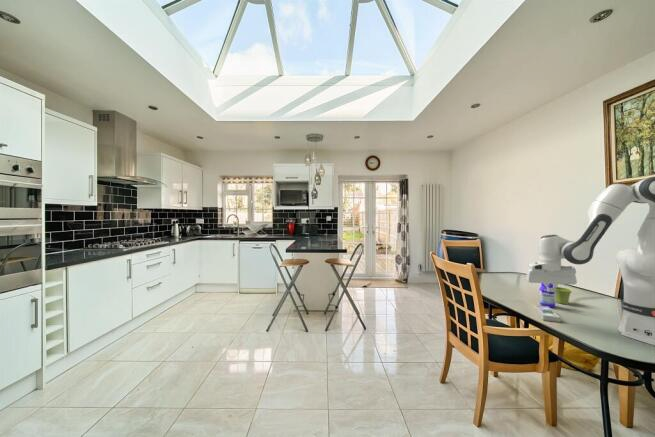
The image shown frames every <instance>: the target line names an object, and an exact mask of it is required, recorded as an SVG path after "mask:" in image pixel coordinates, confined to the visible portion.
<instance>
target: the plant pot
mask: <svg viewBox="0 0 655 437" xmlns="http://www.w3.org/2000/svg"><path fill="white" fill-rule="evenodd" d="M572 292H573V290H572V289H571V288H568V287H567V288H566V287H561V286H558V287H557V288H556V289H555V304H556V303H557V304H561V305H568V304H569V301H570V295H571V293H572Z"/></svg>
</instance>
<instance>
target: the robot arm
mask: <svg viewBox="0 0 655 437" xmlns="http://www.w3.org/2000/svg"><path fill="white" fill-rule="evenodd" d="M632 203H637V204H648V206H649V210H648V212H647V214H646V216H645V218H644V220H643V222H642V223H641V226H640V228H639V230H638V232H637V234H636V235H637V237H638V240H637V242H638V243H637V247H636V248H634V247H632V248H631V247H630V248H624V249H621V250H619V251H618V252H617V253H616V255H615V261H616V262H617V264H618V266H619V267H618V268H619V269H620V275H621V278H622V282H623V300H622V303H621V304H622V306H621V307H622V317H621V321H620V324H619V327H618V328H617V330H618V331H619V332H620V333H621V335H622V336H624V337H627V338H631V339H632V340H637V341H640V342H643V343H646V344H649V345H652V346H654V347H655V176H651V177H647V178H644V179H641V180H639V181H637V182H635V183H633V184H630V185H626V184H622V183H613V184H610V185H608V186H607V187H606V188H605V189H603V191H601V192H600V193H599V194H598V195H597V196H596V198H595V199H593V201H592V203H591V204H590V206H589V208H588V209H587V211H586V216H587V218H588V224H587V227H586V228H585V230H584V231H583V232H582V234H581V235H580V237H579V238H578V239H577V240H576V241H574V240H570V239H567V238H564V237H562V236H559V235H557V234H546V235H543V236H541V237H540V238H539V241H538V254H539V258H538V261H535V262H530V263H528V267H529V268H527V270H526V280H527V281H528V283H531V284H541V283H544V285H545V286H546V287H547V291H548V292H555V289H556V288H557V287H559V285H571V286H574V285H576V284H577V282H578V281H577V276H576V274H577V270H576V268H575V267H574V266H572V265H569V266H567V265H566V266H565V265H562V259H564V260H565V259H566V261H567V262H569V263H571V264H573V265H584V264H587V263H589V262H590V261H591V260H592V259H593V257H594V251H595V248H596V246H597V244H598V243H599V242H600V241H601V239H602V237H603V236H604V235H605V233H606V232H607V231H608V230H609V228H610V227H611V226H612V224H613V223H614V222H615V221H616V220H617V219H618V218H619V217H620V216H621V214H623V212H625V210H626V209H627V207H628V206H629V205H630V204H632ZM549 284H553V285H554V286H553V288H549V287H548V286H549Z"/></svg>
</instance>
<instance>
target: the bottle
mask: <svg viewBox="0 0 655 437" xmlns="http://www.w3.org/2000/svg"><path fill="white" fill-rule="evenodd" d="M553 286H554V285H553V284H549V286H548V287H549V288H553ZM538 290H539V304H540V306H547V307H549V308H555V307H556V302H555V292H548V291H547V287H546V286H545V285H544V283H540V287H539V289H538Z"/></svg>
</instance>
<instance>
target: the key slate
mask: <svg viewBox="0 0 655 437" xmlns="http://www.w3.org/2000/svg"><path fill="white" fill-rule="evenodd" d="M540 310H541V311H542V312H549V313H552V310H553V309H551V307H549V308H545V307H540Z"/></svg>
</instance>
